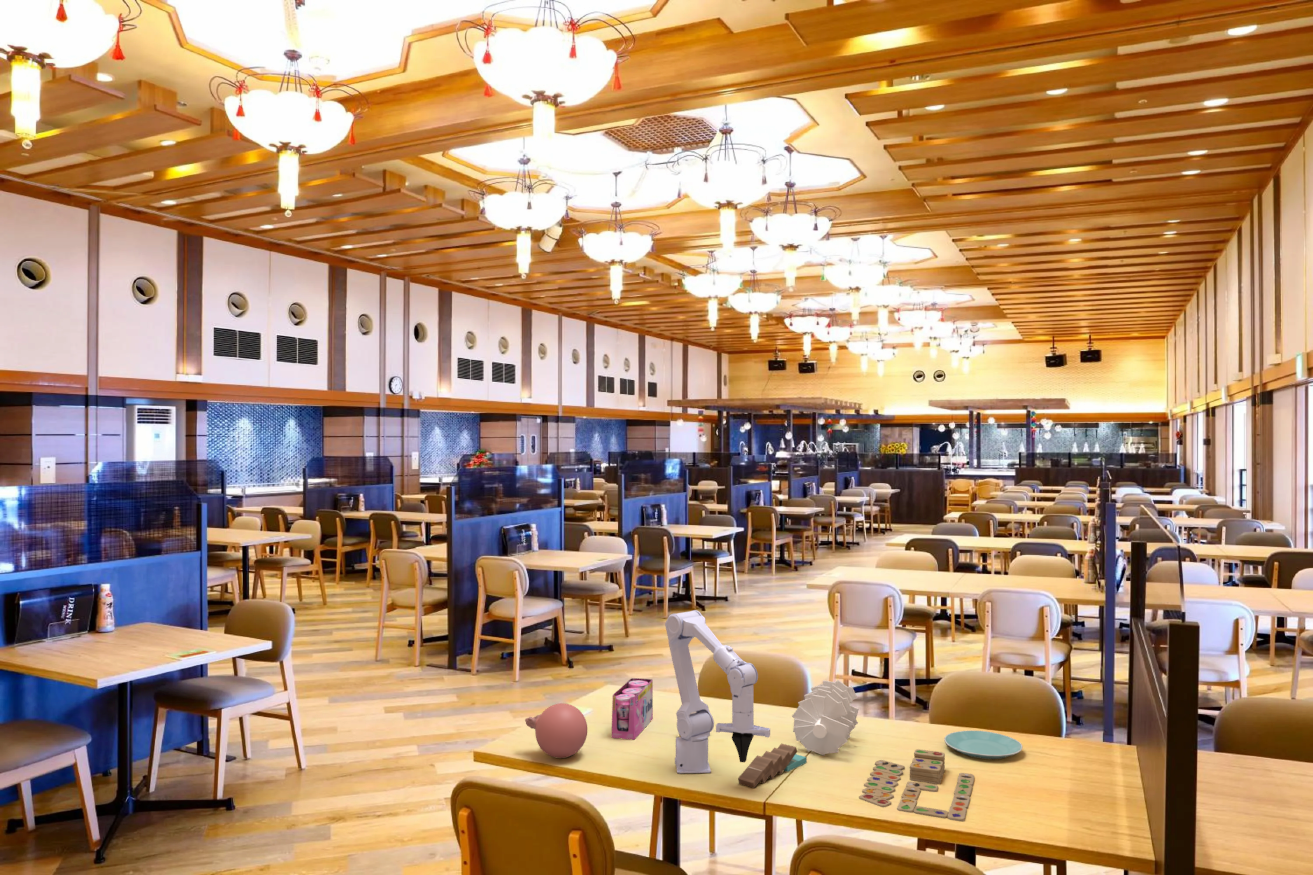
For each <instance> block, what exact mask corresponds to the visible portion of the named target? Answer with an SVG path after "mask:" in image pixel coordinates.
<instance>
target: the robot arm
mask: <svg viewBox="0 0 1313 875" xmlns="http://www.w3.org/2000/svg"><path fill="white" fill-rule="evenodd" d="M706 623H707V622H706V617H704V615H702V613H701V611H699V610H697V609H694V610H691V611H685V612H684V611H683V612H678V613H671V614H670V615H669V616H668V617H667V619H666V621H665V623H664V626H665V630H666V634H667V639H668V640H667V641H668V647H669V650H670V651H669V652H670V655H671V661H672V665H673V669H674V674H675V679H676V684H677V688H678V692H679V696H680V701H681V705H680V707H679V708H678V709H677V711H676V713H675V714H676V729H677V733H678V735H679V734H680V736H681V737H679V736H677V737H675V757H674V764H675V768H676V772H677V774H701V773H702V774H704V773H705V774H708V773H709V774H710V773H712V770H711V766H710V763H709V737H710V736H711V732H712V731H713V730H714V727H715V732H716V733H731V735H732V736H731V740H732V742H733V744H734V746H735V748H736V751H737V754H738V758H739V762H740V763H745V762H746V761H747V760H748V759H747V758H748V752H749V749H750V746H751V742H753V741H752V740H753V739H754V736H760V737H765V738H767V739H768V738H769V737H771V728H770V727H764V726H760V725H755V724H754V719H755V718H754V715H755V714H754V711H755V710H754V709H755V708H754V705H755V704H754V685H755V684H756V683H757V682H758V679H759V673H758V671H757V668H756V667H755V665H754V664H753V663H751V662H746V661H744V660H743V659H742V658H741V657H740V656H739V655H738V654H737V653H736V651H734V648H733V647H732V645H731V646H730V645H728V644H722V642H721V641H720V640H719V639H718V638H717V636H716V635H715V634H714V632H713V631H712V630H711V628H710V627H709V626H708V625H707V624H706ZM694 638H696V639H698V641H700V642H701V643H702V644H703V645H704V647H706V648H707V650H709V651H710V652H711V653H712V655H713V656H712V658H713V661H714V662H715V663H716V665H718V667H720V668H721V670H722V671H723V672H724V673H725V674H726V675H727V676H726V678H727V681H728V682H727V683H728V684H729V686H730V687H729V688H730V693H731V700H732V702H731V707H732V708H731V710H732V711H731V712H732V713H731V714H732V718H731V720H732V722H729V723H728V722H725V723H724V722H723V723H722V722H717V723H716V724H715V721H714V718H713V715H712V713H711V712H710V709H709V705H708V704H707V703H705V702H704V701H703V702H702V701H701V700H700V699H701V698H700V697H701V696H700V691H699V689H698V682H697V679H696V675H695V670H694V666H693V660H692V658H691V652H690V648H689V645H690V643H691V642H692V640H693V639H694ZM695 711H696V712H697V713H693V714H690V713H692V712H695Z"/></svg>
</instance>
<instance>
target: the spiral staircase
mask: <svg viewBox="0 0 1313 875" xmlns="http://www.w3.org/2000/svg"><path fill="white" fill-rule="evenodd" d="M810 690H811V692H808V693H806V694H804V699H803V700H801V701H798V702H797V704H798V707H797V708H796V710H795V711H794V712H793V714H792V715H791V717H792V718H793V728H792V732H793V733H794V735H795V739H796V741H798V742H800V744H801V745H802V746H803V747H804V748H805V750H806V751H807V752H811V751H812V752H813V753H817V754H818V755H821V756H823V757H825V756H826V754H836V753H839V752H840V750H839V749H840V748H841V747H842V746H844V745H845V744H846V743H847V742H848V739H849V738H851V735H850V734H851V733H852V731H853V730H855V728H856V725H857V724H858V723H859V722H858V721H857V717H858V713H859V707H857V706H856V707H855V706H853V705H851V704H852V703H854V700H856V699H858V696H857V694H856V691H855V690H854V687H853V686H851V685H850V686H847V685H846V684H844V682H842V681H840V680H839V679H837V680H836V682H835V681H830V680H829V681H828V680H824V679H823V680H822V683H821V684H818V685H815V686H813V687H811V688H810Z"/></svg>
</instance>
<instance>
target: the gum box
mask: <svg viewBox="0 0 1313 875" xmlns="http://www.w3.org/2000/svg"><path fill="white" fill-rule="evenodd" d="M653 686H654V685H653V678H651V679H650V678H638V677H637V678H635V677H631V678H630V679H629V680H628V681H627V682H625V684H623V685H622V686H621V687H620V688H618V689H617V690H616V691H615V692H614V693H613V694H612V706H611V708H612V709H611V738H612V739H619V738H622V739H621V740H630V739H632V740H633V741H635V739H637V737H638V736H639V735H640V734H641V733H642V732H643V731H644V730H645V727H646V728H647V726H648V725H650V723H651V722H652V721H653V720H652V719H654V716H653V714H654V710H653V708H654V707H653V706H654V705H653V701H654V700H653V697H654V696H653V694H654V692H653ZM651 720H652V721H651ZM650 721H651V722H650ZM632 740H631V741H632Z"/></svg>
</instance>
